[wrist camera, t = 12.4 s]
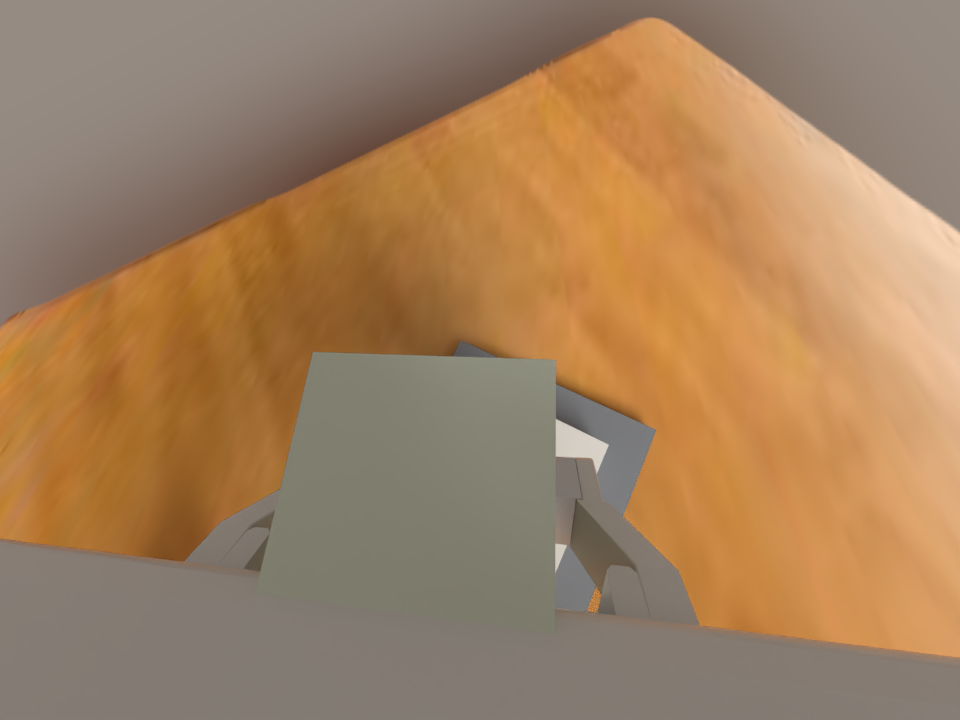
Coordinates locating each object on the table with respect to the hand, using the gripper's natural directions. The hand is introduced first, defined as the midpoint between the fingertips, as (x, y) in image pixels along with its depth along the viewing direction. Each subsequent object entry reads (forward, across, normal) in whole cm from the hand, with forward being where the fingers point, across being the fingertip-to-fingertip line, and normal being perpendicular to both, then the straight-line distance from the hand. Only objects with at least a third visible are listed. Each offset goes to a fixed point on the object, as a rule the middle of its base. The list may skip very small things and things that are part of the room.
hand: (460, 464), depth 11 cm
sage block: (+5, 0, +5) cm, 7 cm away
